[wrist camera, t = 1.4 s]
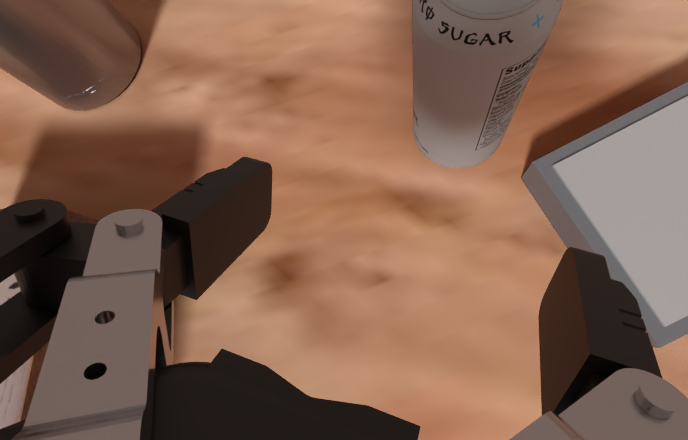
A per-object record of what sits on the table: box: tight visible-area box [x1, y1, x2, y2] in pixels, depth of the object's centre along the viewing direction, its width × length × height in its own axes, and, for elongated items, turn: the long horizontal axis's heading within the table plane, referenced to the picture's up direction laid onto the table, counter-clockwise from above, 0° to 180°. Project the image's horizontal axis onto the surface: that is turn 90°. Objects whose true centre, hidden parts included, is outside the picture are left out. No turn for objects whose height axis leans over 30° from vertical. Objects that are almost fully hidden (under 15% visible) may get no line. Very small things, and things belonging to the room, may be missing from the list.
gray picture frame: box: [521, 82, 688, 348], centre depth 26 cm, size 12×12×3 cm
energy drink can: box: [412, 0, 562, 168], centre depth 24 cm, size 6×6×15 cm
